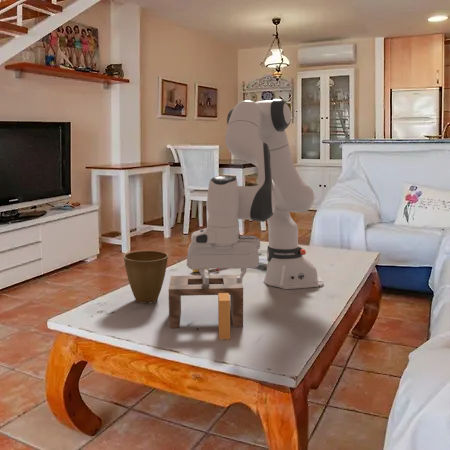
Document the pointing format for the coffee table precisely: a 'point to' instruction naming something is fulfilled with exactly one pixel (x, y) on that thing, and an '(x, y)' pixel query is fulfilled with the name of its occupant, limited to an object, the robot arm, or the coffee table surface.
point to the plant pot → (146, 274)
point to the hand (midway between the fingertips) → (222, 283)
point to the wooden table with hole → (196, 287)
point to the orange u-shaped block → (224, 315)
